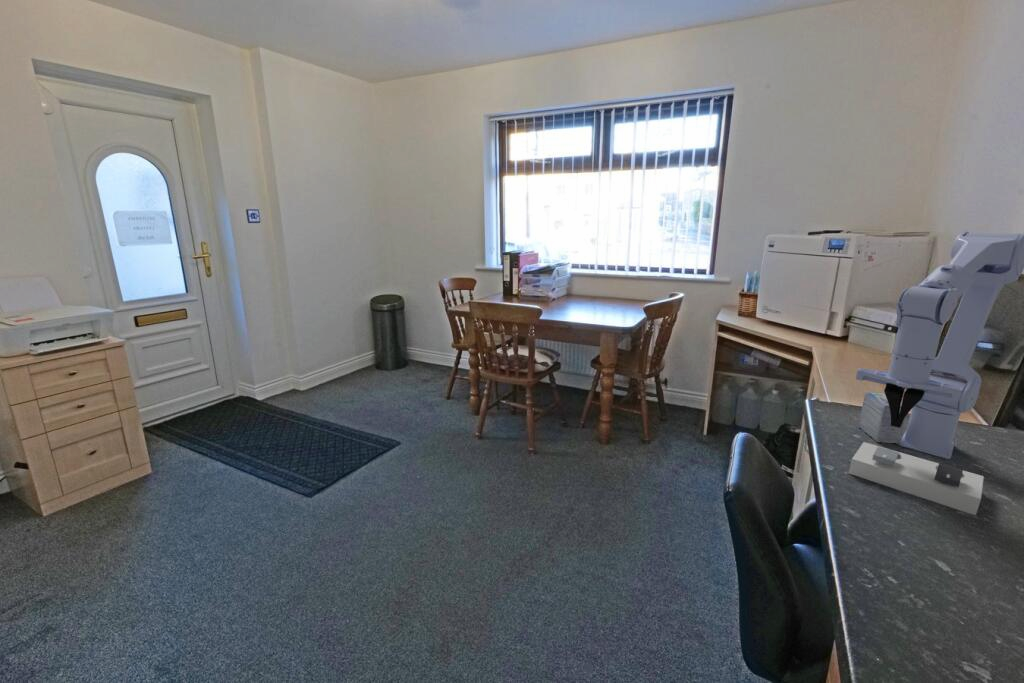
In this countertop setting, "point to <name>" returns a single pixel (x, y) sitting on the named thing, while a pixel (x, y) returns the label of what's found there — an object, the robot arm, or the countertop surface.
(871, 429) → the medicine box
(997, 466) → the countertop surface
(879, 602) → the countertop surface
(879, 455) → the block
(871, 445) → the switch panel
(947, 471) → the block
